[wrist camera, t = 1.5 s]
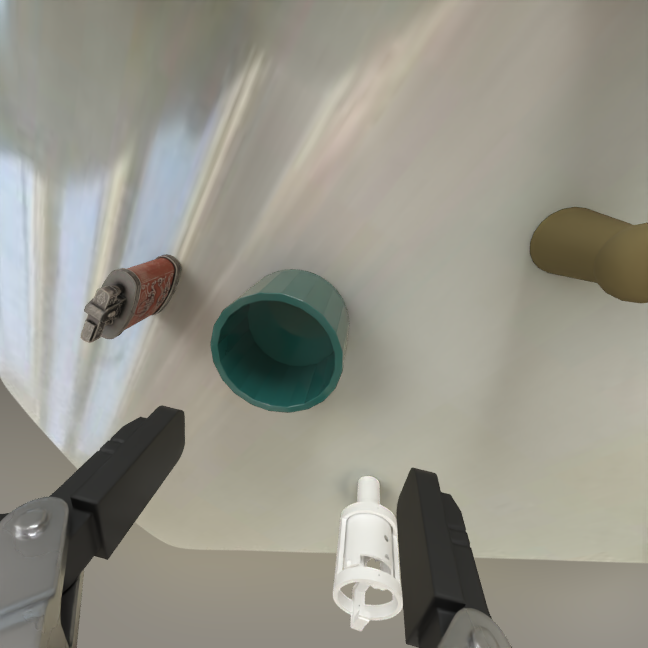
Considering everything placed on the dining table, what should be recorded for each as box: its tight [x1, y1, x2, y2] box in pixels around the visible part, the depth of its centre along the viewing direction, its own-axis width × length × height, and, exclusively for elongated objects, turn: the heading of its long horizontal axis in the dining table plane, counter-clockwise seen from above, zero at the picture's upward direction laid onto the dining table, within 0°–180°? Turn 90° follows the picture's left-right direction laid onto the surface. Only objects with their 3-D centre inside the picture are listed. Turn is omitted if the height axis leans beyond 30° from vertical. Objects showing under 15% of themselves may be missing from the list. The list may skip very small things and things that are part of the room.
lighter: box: [81, 254, 181, 343], centre depth 32 cm, size 8×3×10 cm, turn 145°
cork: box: [530, 207, 648, 303], centre depth 24 cm, size 6×6×11 cm
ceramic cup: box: [211, 269, 349, 413], centre depth 32 cm, size 12×12×8 cm
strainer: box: [333, 476, 403, 631], centre depth 38 cm, size 7×7×15 cm
